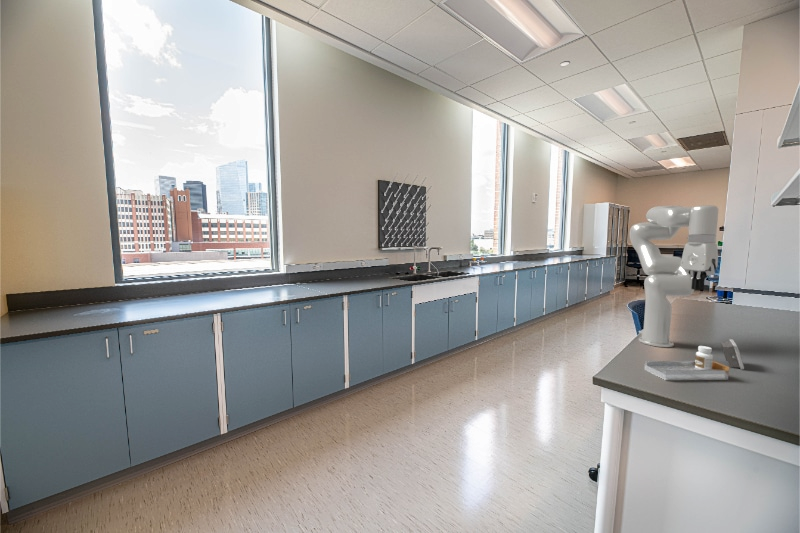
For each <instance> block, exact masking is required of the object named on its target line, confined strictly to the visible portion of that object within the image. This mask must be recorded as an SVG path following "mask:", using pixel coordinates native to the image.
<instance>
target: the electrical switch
mask: <svg viewBox="0 0 800 533" xmlns="http://www.w3.org/2000/svg"><path fill="white" fill-rule="evenodd" d="M720 345H721V348H722V351H723V355H724V359H725V361H726V364H727V365H728V367H729V368H740V370H745V365H744V363H743V360H742V356H741V353H740V352H741V351H740V349H739V347H738V345H737V343H736V342H735V341H734V339H732V338H729V341H720Z"/></svg>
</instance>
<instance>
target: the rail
mask: <svg viewBox="0 0 800 533" xmlns="http://www.w3.org/2000/svg"><path fill="white" fill-rule="evenodd" d="M644 371H646V372H648V373H649V374H652V375H653V376H656V377H657V376H658V378H659V377H660V379H661V378H662V379H661V380H663V379H664V380H663V381H718V380H719V381H722V380H723V381H724V380H725V381H726V380H729V374H730V373H729V372H730V367H729V365H728V366H727V365H725V364H722V363H720V362H717V361H714V360H713V362H712V370H701V369H698V368H696V367H695V360H649V361H648V360H645V361H644Z"/></svg>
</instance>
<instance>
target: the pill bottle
mask: <svg viewBox="0 0 800 533" xmlns="http://www.w3.org/2000/svg"><path fill="white" fill-rule="evenodd" d="M697 350H698V351H696V352H695V359H694V361H695V367H696V368H698V369H701V370H712V362H713V361H714V359H713V358H714V355H713V354H712V352H713V351H712V350H713V349H712V347H710V346H705V345H699V346H698V347H697Z"/></svg>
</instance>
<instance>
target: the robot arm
mask: <svg viewBox="0 0 800 533" xmlns="http://www.w3.org/2000/svg"><path fill="white" fill-rule="evenodd" d="M718 217H719V207H718V206H717V205H711V204H710V205H697V206H681V205H659V206H658V205H657V206H654V207H652V208H650V209H648V211H647V212H646V214H645V218H646V220H647V221H648V222H647V221H646V222H639V223H634V224H633V225H632V226H631V227H630V228H629V241H630V244H631V246H632V248H634V250H635V252H636V254H637V255H638V260H639V262H640V266H641V268H642V271H643V272H644V274H645V275H647V277H645V279H644V283H643V285H644V286H643V287H644V288H643V289H644V293H645V294H644V295H645V300H644V302H645V305H644V316H643V317H644V320H643V329H641V330H638V333H639V334H640V335H641V336H640V337H638V341H639V342H640V343H641V344H645V345H648V346H653V347H658V348H659V347H660V348H672V347H674V345H675V344H674V342H673V341H671V340H670V336H671V326H672V312H673V307H672V306H673V305H672V303H671V302H670V301H669V300H668V298H667V297H688V296H691V295H692V294H694V291H702V290H703V291H704V290H705V280H706V279H707V278H708V277H709V276H713V275H715V273H716V272H715V271H716V270H718V264H719V252H718V244H717V230H718V219H719V218H718ZM682 227H683V228H685V227H688V235H687V237H686V239H687V243H685V245H684V248H683V252H682V256H681V257H680V256H674V255H673V256H671V255H662V254H661V250H660V248H659V247H658V246H657V245H656V244H655V243H653V242H652V241H655V240H657V241H661V240H662V241H666V240H667V241H668V240H671V239H673V238H674V237H675V235H676V234H677V233H678V231H679V230H680V229H681V228H682ZM650 240H651V241H650Z"/></svg>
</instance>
